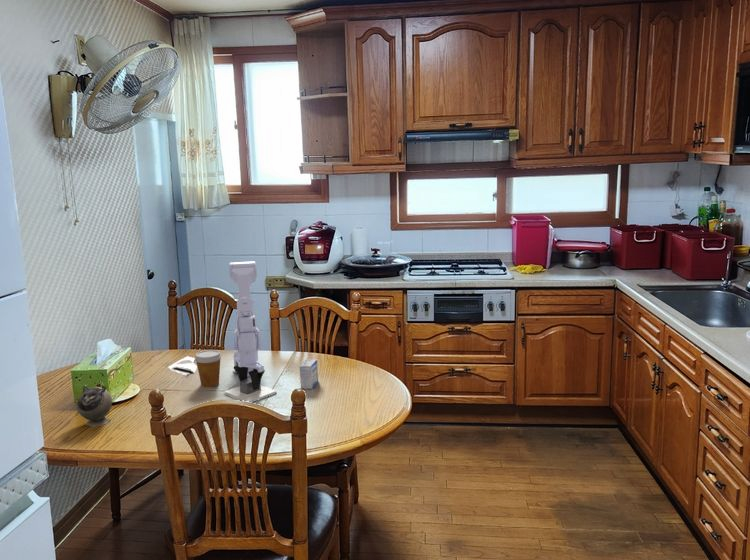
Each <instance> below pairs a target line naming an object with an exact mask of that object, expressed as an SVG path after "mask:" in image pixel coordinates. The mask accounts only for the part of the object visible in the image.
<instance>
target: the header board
mask: <svg viewBox="0 0 750 560" xmlns="http://www.w3.org/2000/svg"><path fill="white" fill-rule="evenodd" d="M275 393H276V394H277V390H275V389H272V388H270V387H266V386H265V385H262V384H261V390H259V391H256V392H253V393H250V394H248V395H247V394H244V393H242V392H240V385H238V386H235V387H233V388H230V389H227V390H225V391H224V395H226V396H229V397H231V398H234V399H235V400H238V401H240V400H244V401H249V402H253V401H256V400H258V399H261V398H264V397H266V398H268V396H269V397H271V396H273V395H272V394H274V395H276V394H275ZM270 395H271V396H270ZM264 399H265V398H264ZM261 400H262V399H261ZM258 401H259V400H258ZM256 402H257V401H256ZM253 403H254V402H253Z"/></svg>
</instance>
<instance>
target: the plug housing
mask: <svg viewBox="0 0 750 560" xmlns="http://www.w3.org/2000/svg"><path fill="white" fill-rule="evenodd" d="M261 382H262V381H260V386H259V389H257V390H253V387H252V381H251V377H250V376H249V377H247V379H244V380H242V381H240V380H239V386H240V392H242V393H244V394H247V395H248V394H250V393H253V392H256V391H259V390H261V385H262V384H261Z"/></svg>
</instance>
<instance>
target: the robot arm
mask: <svg viewBox="0 0 750 560" xmlns="http://www.w3.org/2000/svg"><path fill="white" fill-rule="evenodd" d="M228 268H229V269H228V270H229V271H228V272H229V279H230V281H231V283H233V284H236V286H237V288H238V300H237V301H236V317H237V318H236V319H235V320H236V322H235V324H236V325H235V326H236V329H235V330H234V332H233V335H234V336H233V340H234V342H233V343H234V350H235V351H234V354H233V364H234V366H233V370H232V372H233V373H235V374H236V375H237V377H238V379H239V382H240V381H242V380H244V379H247V378H250V377H251V381H252V387H253V390H257V389H259V386H260V382H262V377H264V376H263V375H264V374H265V371H266V370H265V365H263V364H261V363H260V362H259V353H258V352H259V350H260V349H261V347H262V343H261V342H262V341H261V334H260V329H259V328H258V327H257V322H256V320H257V319H256V317H255V316H256V315H255V312H254V309H255V308H254V301H253V299H252V298H251V289H250V287H251V286H252V285H251V284H252V283H254V282H256V281H257V277H258V275H257V262H256V261H255V260H253V261H240V262H239V261H238V262H231V261H230V262H229V264H228Z"/></svg>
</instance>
